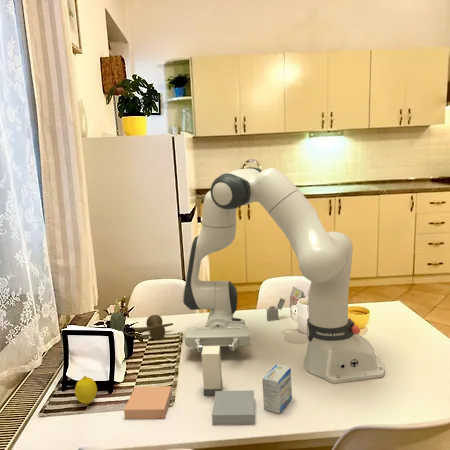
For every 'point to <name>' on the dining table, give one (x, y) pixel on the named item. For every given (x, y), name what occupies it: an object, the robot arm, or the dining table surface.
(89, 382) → the fruit
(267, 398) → the medicine box
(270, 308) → the lighter
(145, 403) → the terracotta stand
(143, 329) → the kendama
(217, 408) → the slate stand
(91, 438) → the dining table surface
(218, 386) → the banded sleeve
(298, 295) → the tea bag
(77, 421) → the dining table surface
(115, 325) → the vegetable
